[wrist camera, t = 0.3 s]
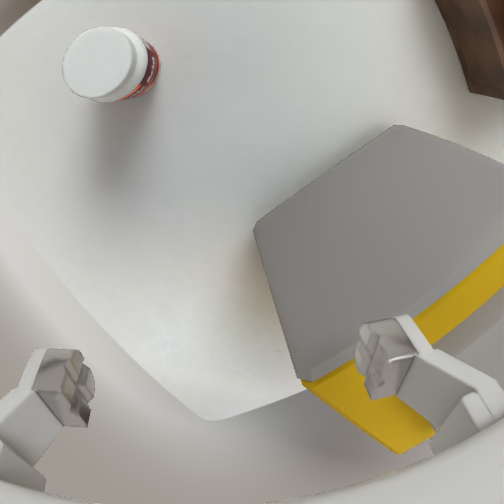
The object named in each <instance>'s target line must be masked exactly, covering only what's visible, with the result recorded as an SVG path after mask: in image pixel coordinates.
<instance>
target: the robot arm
mask: <svg viewBox="0 0 504 504" xmlns="http://www.w3.org/2000/svg"><path fill="white" fill-rule="evenodd" d="M358 333H359V335H360V337H361V338H360V339H359V340H358V341H357V342H356V344H355V348H354V361H355V365H356V368H357V370H358V372H359V373H360V374H361V375H363V376H365V377H366V379H365V382H364V386H365V388H366V390H367V392H368V394H369V396H370V399H371V401H373V400H377V399H381V398H385V397H389V396H393V395H396V394H397V395H396V396H397V397H398V398H399V399H401V400H402V401H403V402H405V403H406V404H407V405H409V406H410V407H411V408H413V409H414V410H415V411H416V412H418V413H419V414H420V415H422V416H423V417H424V418H426V419H427V420H428V421H430V422H431V423H432V424H434V425H435V426H436V427H438V430H437V431H436V432H435V433H434V434H433V436H432V437H431V438H430V440H429V442H428V443H429V445H430V447H431V449H432V452H433V454H434V455H433V456H430V457H428V458H426V459H424V460H421V461H419V462H417V463H414V464H411V465H409V466H407V467H404V468H401V469H398V470H396V471H393V472H390V473H388V474H384V475H382V476H379V477H376V478H373V479H369V480H366V481H363V482H360V483H356V484H353V485H350V486H346V487H342V488H339V489H335V490H331V491H327V492H322V493H318V494H314V495H309V496H304V497H299V498H294V499H289V500H282V501H276V502H269V503H262V504H504V391H503V389H502V388H501V386H500V385H499V383H498V382H497V380H496V379H494V378H492V377H490V376H488V375H487V374H485V373H483V372H481V371H479V370H477V369H475V368H473V367H471V366H469V365H468V364H466V363H464V362H462V361H460V360H458V359H456V358H454V357H452V356H450V355H449V354H447V353H445V352H443V351H441V350H439V349H435V350H434V349H433V348H432V346H431V345H430V343H429V342H428V340H427V339H426V338H425V336H424V335H423V333H422V332H421V331H420V329H419V328H418V326H417V325H416V324H415V322H414V321H413V319H412V318H411V317H410V316H409V315H407V314H404V315H399V316H395V317H392V318H391V317H390V318H385V319H380V320H376V321H371V322H366V323H362V325H361V326H360V328H359V332H358ZM83 361H84V357H83V356H82V354H81V352H80V351H79V350H71V349H44V348H36V349H35V350H34V351H33V352H32V354H31V357H30V359H29V361H28V363H27V366H26V368H25V371H24V373H23V376H22V378H21V380H20V383H19V386H18V388H13V389H12V390H11V391H10V392H9V393H8V394H7V395H5V396H4V397H3V398H2V399H1V400H0V504H103V503H95V502H89V501H83V500H77V499H72V498H67V497H62V496H58V495H53V494H49V493H45V492H44V490H45V483H46V478H45V477H44V475H42V474H41V473H40V472H39V471H37V470H36V469H35V468H33V467H34V466H35V465H36V463H37V462H38V461H39V459H40V457H42V455H43V454H44V453H45V451H46V450H47V449H48V448H49V446H50V445H51V444H52V442H53V441H54V440H55V438H56V437H57V436H58V434H59V433H60V432H61V431H62V429H63V428H64V426H71V427H87V426H88V421H89V416H90V411H91V409H90V407H89V405H88V402H89V401H90V400H91V399H92V398H93V397H94V392H95V381H94V377H93V374H92V372H91V370H90V368H88V367H87V366H86V365H84V364H83Z"/></svg>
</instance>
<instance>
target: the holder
mask: <svg viewBox="0 0 504 504" xmlns="http://www.w3.org/2000/svg"><path fill="white" fill-rule="evenodd" d="M435 1H436V3H437V5H438V7H439V9H440V12H441V14H442V16H443V18H444V21H445V23H446V25H447V28H448V30H449V32H450V35H451V37H452V40H453V43H454V45H455V48H456V51H457V53H458V56H459V59H460V62H461V65H462V68H463V71H464V74H465V77H466V80H467V84H468V87H469V90H470V92H471V93H476V94H481V95H486V96H490V97H494V98H499V99H503V100H504V0H435Z"/></svg>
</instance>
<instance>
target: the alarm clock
mask: <svg viewBox="0 0 504 504" xmlns="http://www.w3.org/2000/svg"><path fill="white" fill-rule="evenodd" d="M253 232H254V236H255V240H256V243H257V246H258V250H259V253H260V257H261V260H262V264H263V267H264V270H265V274H266V277H267V280H268V283H269V287H270V290H271V293H272V297H273V300H274V303H275V306H276V310H277V313H278V316H279V320H280V323H281V326H282V329H283V333H284V336H285V339H286V343H287V346H288V349H289V353H290V356H291V359H292V363H293V366H294V369H295V373H296V376H297V378H299V379H301V381H302V385H303V386H304V387H306V388H307V389H308V390H310V391H311V392H312V393H313V394H315V395H316V396H317V397H318V398H320V399H321V400H322V401H324V402H325V403H326V404H328V405H329V406H330V407H331V408H333V409H334V410H336V411H337V412H338V413H339V414H341V415H342V416H344V417H345V418H346V419H348V420H349V421H350V422H352V423H353V424H354V425H356V426H357V427H358V428H360V429H361V430H363V431H364V432H365V433H367V434H368V435H370V436H371V437H372V438H374V439H375V440H377V441H378V442H380V443H381V444H382V445H384V446H385V447H387V448H388V449H390V450H391V451H393V452H394V453H396V454H404V453H406V452H408V451H410V450H411V449H413V448H415V447H417V446H418V445H420V444H422V443H423V442H425V441H427V440H428V439H430V438H431V437H432V436H433V434H434V433H435V432H436V431H437V430H438V427H436V426H435V425H434V424H432V423H431V422H430V421H428V420H427V419H426V418H424V417H423V416H422V415H420V414H419V413H418V412H416V411H415V410H414V409H413V408H411V407H410V406H409V405H407V404H406V403H405V402H403V401H402V400H401V399H399V398H398V397H397V396H396V395H397V394H396V395H393V396H389V397H385V398H381V399H377V400H373V401H371V399H370V396H369V394H368V392H367V390H366V388H365V386H364V382H365V379H366V377H365V376H363V375H361V374H360V373H359V372H358V370H357V368H356V365H355V361H354V348H355V344H356V342H357V341H358V340H359V339H360V338H361V337H360V335H359V333H358V332H359V328H360V326H361V325H362V323H366V322H371V321H376V320H380V319H385V318H390V317H391V318H392V317H395V316H399V315H404V314H407V315H409V316H410V317H411V318H412V319H413V321H414V322H415V324H416V325H417V326H418V328H419V329H420V331H421V332H422V333H423V335H424V336H425V338H426V339H427V340H428V342H429V343H430V345H431V346H432V348H433V349H434V350H435V349H439V350H441V351H443V352H445V353H447V354H449V355H450V356H452V357H454V358H456V359H458V360H460V361H462V362H464V363H466V364H468V365H469V366H471V367H473V368H475V369H477V370H479V371H481V372H483V373H485V374H487V375H488V376H490V377H492V378H494V379H496V380H497V382H498V383H499V385H500V386H501V388H502V389H503V391H504V164H502V163H500V162H497V161H495V160H493V159H491V158H489V157H486V156H484V155H482V154H479V153H477V152H475V151H472V150H470V149H468V148H465V147H463V146H460V145H458V144H455V143H452V142H450V141H447V140H445V139H442V138H439V137H436V136H434V135H431V134H428V133H425V132H422V131H419V130H416V129H413V128H410V127H407V126H404V125H393V126H392V127H390V128H389V129H387V130H386V131H385V132H383V133H382V134H380V135H379V136H377V137H376V138H374V139H373V140H371V141H370V142H369V143H367V144H366V145H364V146H363V147H361V148H360V149H358V150H357V151H356V152H354V153H353V154H351V155H350V156H348V157H347V158H346V159H344V160H343V161H341V162H340V163H338V164H337V165H336V166H334V167H333V168H331V169H330V170H328V171H327V172H326V173H324V174H323V175H321V176H320V177H319V178H317V179H316V180H314V181H313V182H311V183H310V184H309V185H307V186H306V187H304V188H303V189H302V190H300V191H299V192H297V193H296V194H295V195H293V196H292V197H290V198H289V199H288V200H286V201H285V202H283V203H282V204H281V205H279V206H278V207H276V208H275V209H274V210H272V211H271V212H270V213H268V214H267V215H265V216H264V217H263V218H261V219H260V220H258V221H257V223H256V225H255V227H254V229H253Z"/></svg>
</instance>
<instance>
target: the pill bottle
mask: <svg viewBox="0 0 504 504" xmlns="http://www.w3.org/2000/svg"><path fill="white" fill-rule="evenodd" d="M160 68H161V65H160V58H159V55H158V53H157V51H156V50H155V49H154V47H153V46H151V45H150V44H149V43H148V42H146V41H145V40H144V39H142V38H141V37H139V36H138V35H137V34H135V33H134V32H132V31H130V30H128V29H125V28H121V27H111V28H109V27H98V28H93V29H90V30H88V31H86V32H84V33H82V34H81V35H79V36H78V37H77V38H76V39H75V40H74V41H73V42H72V43H71V45H70V46H69V48H68V49H67V51H66V53H65V56H64V59H63V64H62V73H63V78H64V81H65V83H66V85H67V86H68V88H69V89H70V90H71V91H72V92H73V93H75V94H76V95H78V96H80V97H83V98H89V99H91V100H93V101H97V102H112V101H117V100H123V99H129V98H133V97H137V96H140V95H142V94H144V93H145V92H147V91H148V90H149V89H150V88H151V87H152V86H153V85H154V83H155V82H156V80H157V78H158V76H159V73H160Z"/></svg>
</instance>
